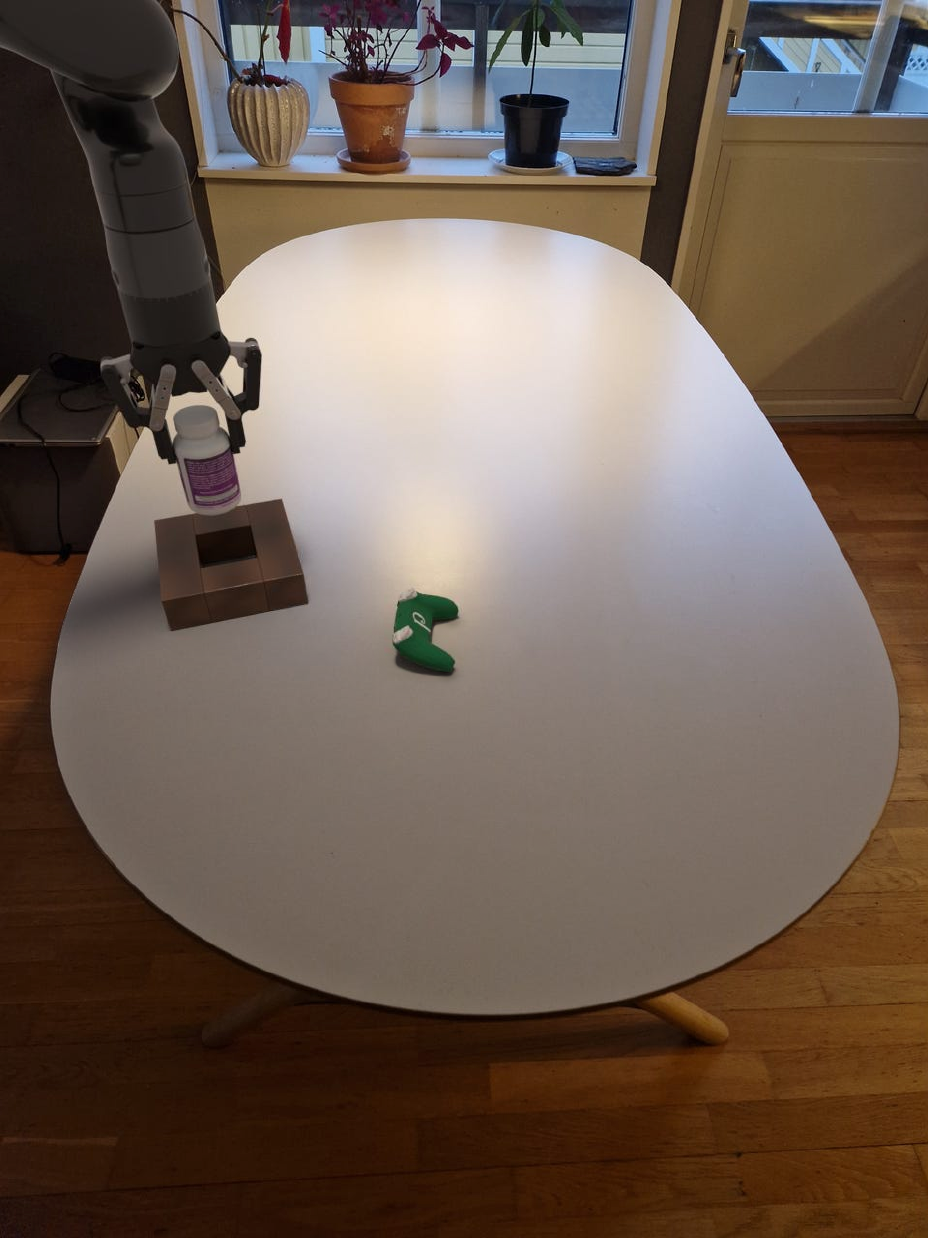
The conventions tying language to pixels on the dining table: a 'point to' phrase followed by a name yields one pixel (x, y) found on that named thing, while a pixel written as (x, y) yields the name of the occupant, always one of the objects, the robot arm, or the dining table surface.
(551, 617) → the dining table surface
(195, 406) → the pill bottle
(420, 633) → the gaming controller
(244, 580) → the holder
